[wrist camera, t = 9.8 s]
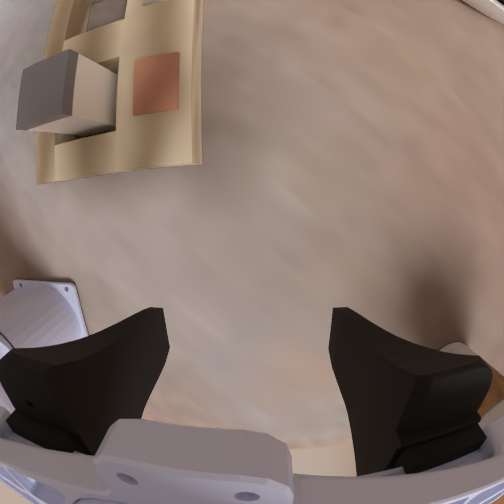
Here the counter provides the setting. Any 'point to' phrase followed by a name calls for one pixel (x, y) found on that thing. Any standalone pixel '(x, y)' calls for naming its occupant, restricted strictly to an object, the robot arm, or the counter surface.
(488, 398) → the coffee cup
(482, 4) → the bowl
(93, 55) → the socket block
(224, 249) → the counter surface
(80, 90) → the plug
